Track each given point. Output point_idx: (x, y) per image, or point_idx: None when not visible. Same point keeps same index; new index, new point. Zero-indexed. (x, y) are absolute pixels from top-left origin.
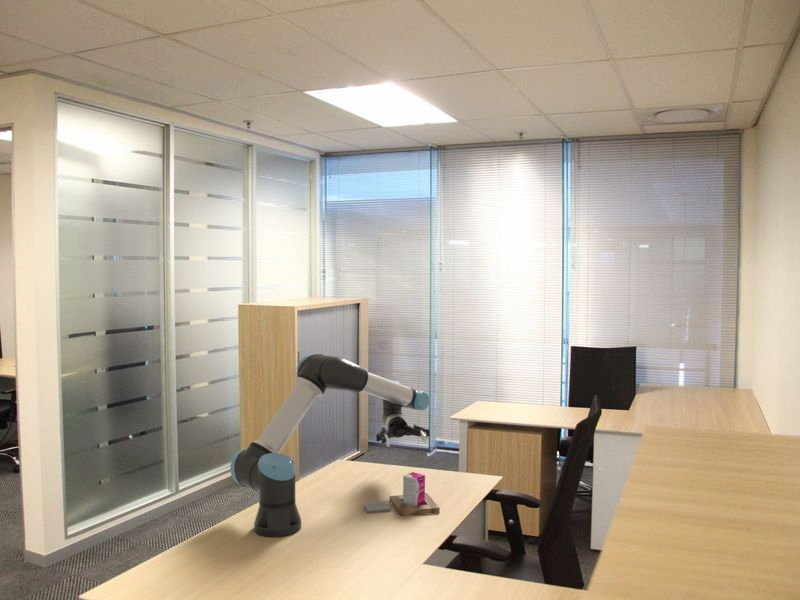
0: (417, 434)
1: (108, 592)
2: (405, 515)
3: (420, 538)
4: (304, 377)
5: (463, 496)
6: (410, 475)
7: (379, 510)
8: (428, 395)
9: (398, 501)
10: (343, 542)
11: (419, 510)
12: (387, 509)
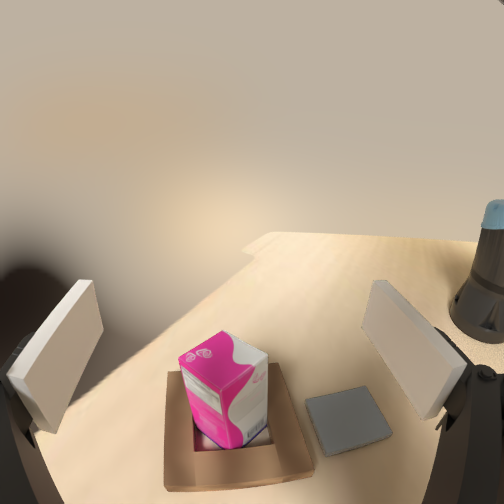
0: (46, 480)
1: None
2: None
3: (243, 296)
4: None
5: (54, 461)
6: (238, 353)
7: (335, 394)
8: None
9: (281, 424)
10: (366, 291)
11: None
12: (313, 398)
